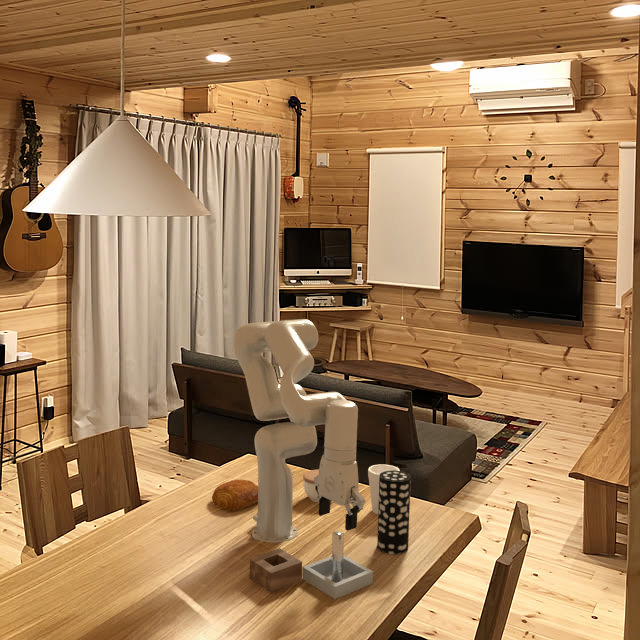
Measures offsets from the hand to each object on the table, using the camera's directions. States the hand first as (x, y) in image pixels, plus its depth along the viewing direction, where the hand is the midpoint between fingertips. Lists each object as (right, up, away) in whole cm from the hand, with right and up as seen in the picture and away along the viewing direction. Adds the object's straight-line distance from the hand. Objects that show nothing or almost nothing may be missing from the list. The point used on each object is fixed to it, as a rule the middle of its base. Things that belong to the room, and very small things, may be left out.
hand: (337, 521), depth 171 cm
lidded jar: (-4, -8, +55) cm, 56 cm away
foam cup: (+15, -10, +46) cm, 49 cm away
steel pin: (0, -15, +2) cm, 15 cm away
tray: (0, -16, +2) cm, 16 cm away
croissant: (-30, -9, +51) cm, 60 cm away
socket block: (-15, -15, +2) cm, 21 cm away
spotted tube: (+15, -13, +22) cm, 30 cm away
